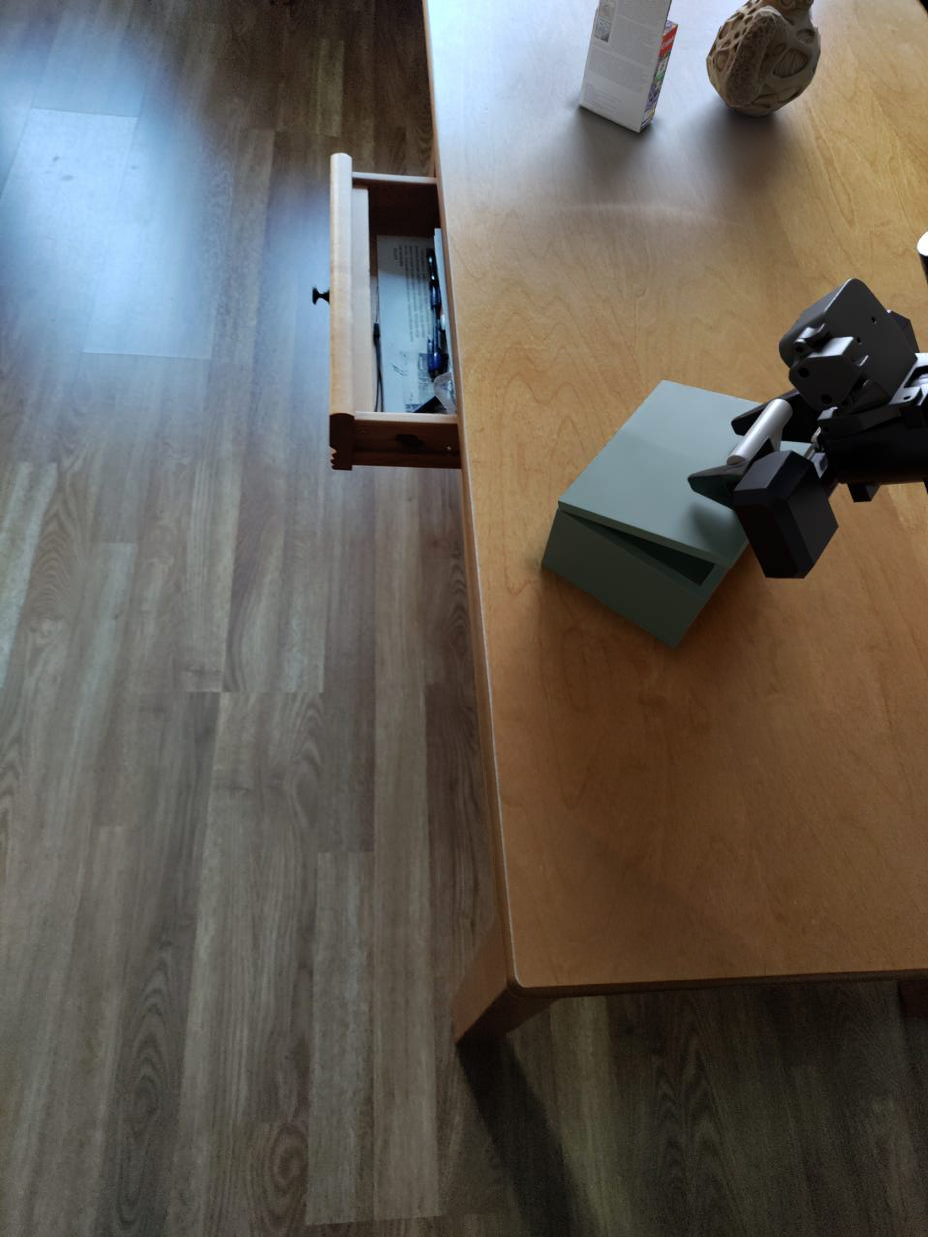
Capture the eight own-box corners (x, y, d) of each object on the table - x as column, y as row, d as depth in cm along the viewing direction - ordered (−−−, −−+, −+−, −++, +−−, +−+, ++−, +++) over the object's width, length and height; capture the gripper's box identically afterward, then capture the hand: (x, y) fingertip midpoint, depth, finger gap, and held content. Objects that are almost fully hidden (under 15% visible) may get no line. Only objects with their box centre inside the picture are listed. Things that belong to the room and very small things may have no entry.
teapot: (723, 48, 103) (773, -105, 90) (816, 79, 101) (880, -72, 88) (666, 138, 93) (712, -20, 80) (767, 174, 91) (832, 19, 78)
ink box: (592, 91, 96) (624, -62, 83) (654, 120, 94) (696, -33, 81) (575, 105, 94) (605, -49, 82) (637, 135, 92) (678, -19, 80)
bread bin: (762, 521, 68) (798, 465, 62) (674, 649, 61) (705, 601, 56) (637, 447, 71) (661, 388, 65) (540, 563, 64) (556, 508, 58)
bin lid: (827, 428, 58) (837, 367, 55) (731, 569, 52) (735, 509, 48) (662, 388, 65) (662, 330, 61) (558, 509, 58) (550, 452, 55)
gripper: (993, 189, 45) (731, 270, 57) (854, 391, 36) (583, 435, 49) (1036, 373, 50) (788, 412, 62) (923, 587, 42) (662, 583, 54)
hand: (712, 454), depth 56 cm, fingers open, 6 cm apart
